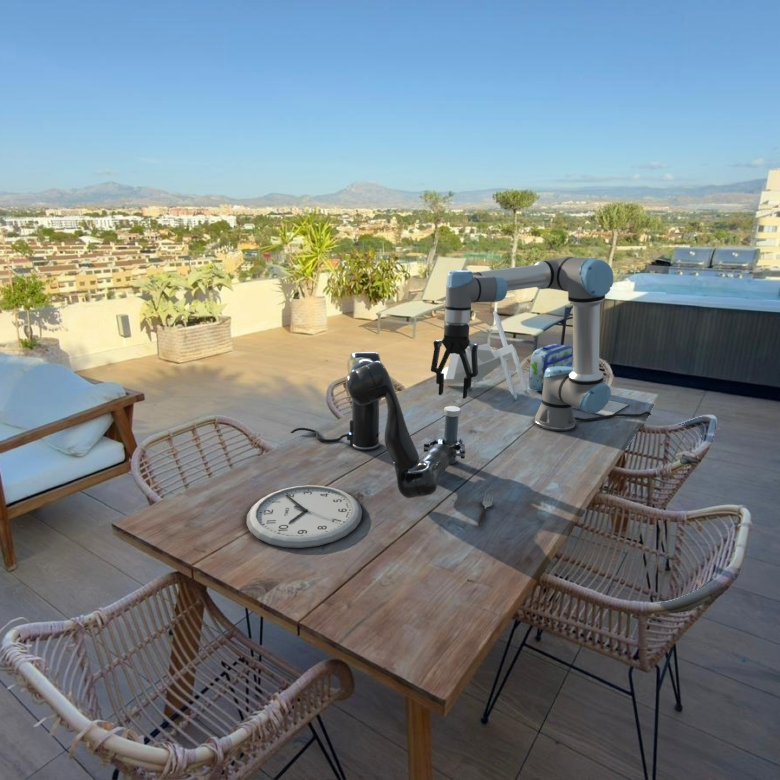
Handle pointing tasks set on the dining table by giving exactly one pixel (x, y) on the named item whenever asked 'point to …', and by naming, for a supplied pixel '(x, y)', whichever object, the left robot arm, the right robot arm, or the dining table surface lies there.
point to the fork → (485, 504)
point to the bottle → (451, 432)
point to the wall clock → (304, 516)
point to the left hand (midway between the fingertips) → (452, 440)
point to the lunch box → (548, 362)
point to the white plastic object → (486, 363)
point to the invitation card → (611, 408)
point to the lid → (452, 411)
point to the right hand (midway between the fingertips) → (452, 395)
